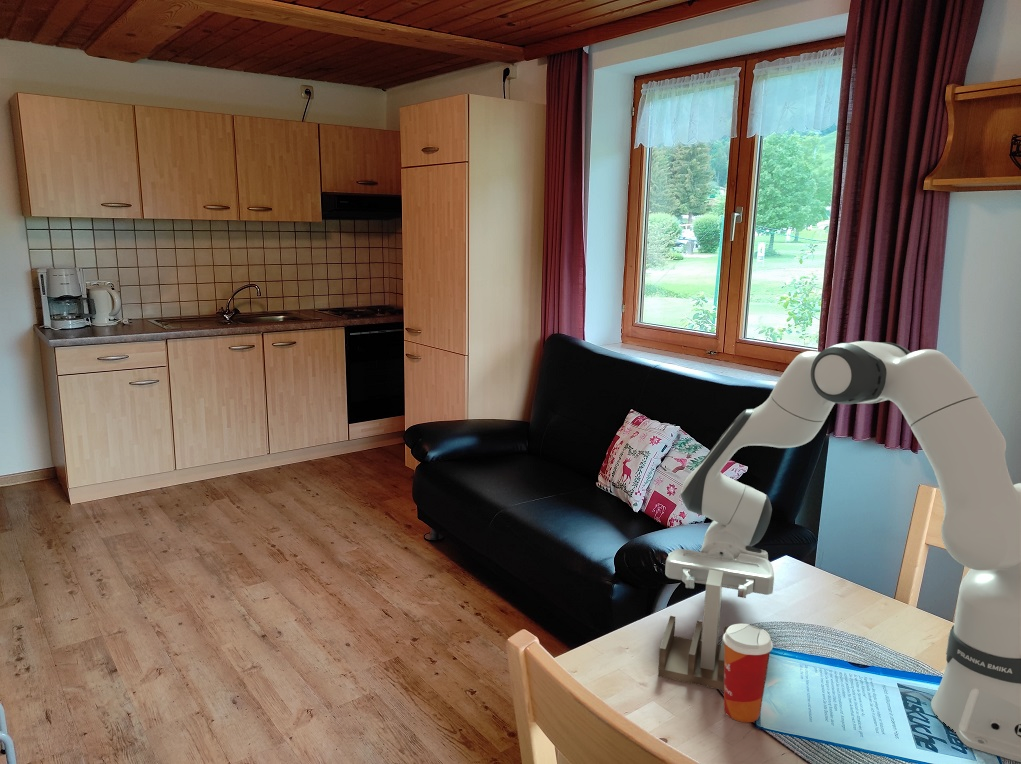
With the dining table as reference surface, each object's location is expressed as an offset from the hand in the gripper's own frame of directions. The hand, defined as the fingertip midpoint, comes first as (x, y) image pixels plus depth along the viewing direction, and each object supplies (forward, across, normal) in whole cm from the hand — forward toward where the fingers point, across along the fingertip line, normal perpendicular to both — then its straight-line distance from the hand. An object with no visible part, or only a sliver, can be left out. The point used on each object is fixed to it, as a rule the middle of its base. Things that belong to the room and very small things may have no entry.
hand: (715, 589), depth 139 cm
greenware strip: (+7, 0, +11) cm, 12 cm away
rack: (+7, 0, +12) cm, 14 cm away
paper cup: (+18, +7, +12) cm, 22 cm away
